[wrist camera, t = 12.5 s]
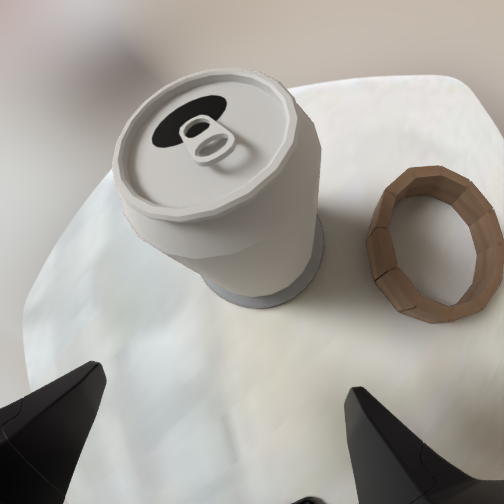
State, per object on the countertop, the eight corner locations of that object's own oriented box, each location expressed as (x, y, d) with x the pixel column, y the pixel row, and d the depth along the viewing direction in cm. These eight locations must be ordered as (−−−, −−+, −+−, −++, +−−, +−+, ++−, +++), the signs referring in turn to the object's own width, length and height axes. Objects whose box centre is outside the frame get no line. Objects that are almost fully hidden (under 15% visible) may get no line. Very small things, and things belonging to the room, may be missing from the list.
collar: (500, 257, 15) (520, 247, 13) (427, 351, 15) (447, 353, 12) (422, 165, 19) (435, 144, 16) (338, 239, 18) (344, 223, 16)
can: (271, 175, 20) (237, 35, 9) (335, 255, 18) (379, 137, 6) (186, 232, 20) (79, 133, 9) (240, 320, 18) (135, 300, 6)
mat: (350, 251, 18) (351, 248, 18) (244, 335, 18) (242, 335, 17) (268, 165, 21) (268, 161, 21) (175, 236, 21) (173, 234, 20)
